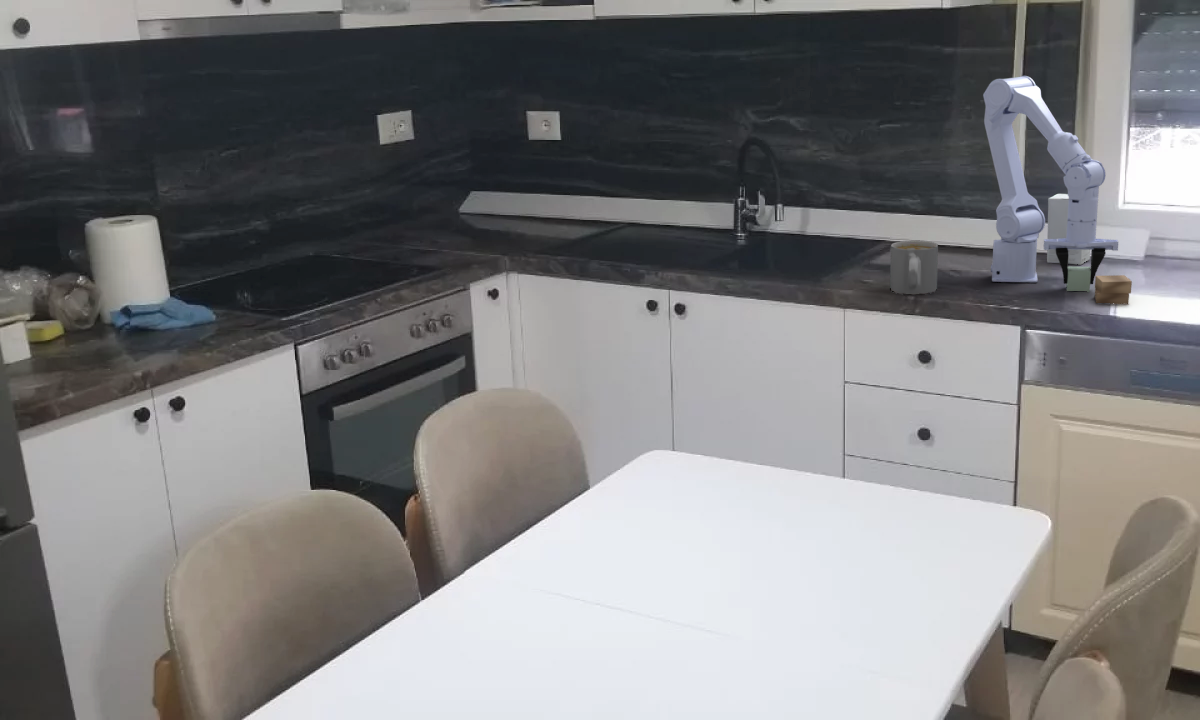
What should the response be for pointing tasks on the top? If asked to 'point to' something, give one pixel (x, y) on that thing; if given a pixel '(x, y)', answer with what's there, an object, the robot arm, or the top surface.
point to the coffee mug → (913, 267)
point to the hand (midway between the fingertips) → (1078, 282)
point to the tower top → (1113, 284)
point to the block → (1078, 279)
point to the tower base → (1111, 298)
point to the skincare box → (1062, 230)
